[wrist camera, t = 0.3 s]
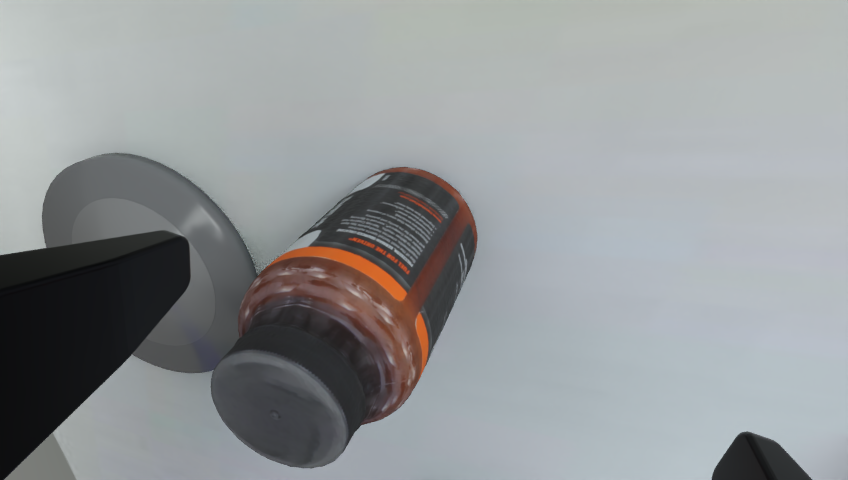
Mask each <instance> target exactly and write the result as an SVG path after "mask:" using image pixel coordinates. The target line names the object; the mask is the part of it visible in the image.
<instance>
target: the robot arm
mask: <svg viewBox="0 0 848 480" xmlns="http://www.w3.org/2000/svg"><path fill="white" fill-rule="evenodd" d="M190 279H191V269H190V246H189V242H188V240H187V239H186V238H185V237H184V236H182V235H179V234H176V233H173V232H170V231H167V230H159V231H152V232H146V233H140V234H133V235H127V236H120V237H114V238H108V239H101V240H95V241H88V242H82V243H75V244H69V245H63V246H56V247H50V248H43V249H37V250H31V251H24V252H18V253H11V254H5V255H0V480H4V479H5V478H6V477H7V476H8V475H9V474H10V473H11V472H12V471H13V470H14V469H15V468H16V467H17V466H18V465H19V464H20V463H21V462H22V461H24V459H26V458H27V457H28V456H29V455H30V454H31V453H32V452H33V451H34V450H35V449H36V448H37V447H38V446H39V445H40V444H41V443H42V442H43V441H44V440H45V439H46V438H47V437H48V436H49V435H50V434H51V433H52V432H53V431H54V430H55V429H56V428H57V427H58V426H60V425H61V424H62V423H63V422H64V421H65V420H66V419H67V418H68V417H69V416H70V415H71V414H72V413H73V412H74V411H75V410H76V409H77V408H78V407H79V406H80V405H81V404H82V403H83V402H84V401H85V400H86V399H87V398H88V397H89V396H90V395H91V394H92V393H93V392H94V391H95V390H97V389H98V388H99V387H100V386H101V385H102V384H103V383H104V382H105V381H106V380H107V379H108V378H109V377H110V376H111V375H112V374H113V373H114V372H115V371H116V370H117V369H118V368H119V367H120V366H121V365H122V364H123V363H124V362H125V361H126V360H127V359H128V358H129V357H130V356H131V355H132V353H133V352H134V351H135V350H136V349H137V348H138V347H139V346H140V344H141V343H142V342H143V341H144V340H145V339H146V337H147V336H148V335H149V334H150V333H151V331H152V330H153V329H154V328H155V327H156V326H157V324H158V323H159V322H160V321H161V320H162V318H163V317H164V316H165V315H166V314H167V313H168V311H169V310H170V309H171V308H172V307H173V305H174V304H175V303H176V302H177V301H178V299H179V298H180V297H181V296H182V295H183V294H184V292H185V291H186V289H187V288H188V286H189V283H190ZM712 480H812V479H811V478H810V477H809V476H808V475H807V474H806V472H805V471H804V470H803V469H802V468H801V467H800V466H799V465H798V464H797V463H796V462H795V461H794V460H793V459H792V458H791V456H790V455H789V454H788V453H787V452H786V451H785V450H784V449H783V448H782V447H781V446H780V445H779V444H778V443H777V442H775V441H774V440H771V439H768V438H765V437H763V436H760V435H757V434H754V433H751V432H742V433H740V434H739V435H738V436H737V437H736V438H735V440H734V441H733V443H732V444H731V445H730V447H729V448H728V450H727V451H726V453H725V454H724V456H723V457H722V459H721V460H720V462H719V463H718V464H717V466H716V468H715V470H714V472H713V475H712Z"/></svg>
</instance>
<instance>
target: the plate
mask: <svg viewBox="0 0 848 480" xmlns="http://www.w3.org/2000/svg"><path fill="white" fill-rule="evenodd" d="M42 224H43V233H44V239H45V243H46V247H47V248H50V247H56V246H63V245H69V244H75V243H82V242H88V241H95V240H101V239H108V238H114V237H120V236H127V235H133V234H140V233H146V232H152V231H159V230H167V231H170V232H173V233H176V234H179V235H182V236H184V237H185V238H186V239H187V240H188V242H189V246H190V269H191V279H190V283H189V286H188V288H187V289H186V291H185V292H184V294H183V295H182V296H181V297H180V298H179V299H178V301H177V302H176V303H175V304H174V305H173V307H172V308H171V309H170V310H169V311H168V313H167V314H166V315H165V316H164V317H163V318H162V320H161V321H160V322H159V323H158V324H157V326H156V327H155V328H154V329H153V330H152V331H151V333H150V334H149V335H148V336H147V337H146V339H145V340H144V341H143V342H142V343H141V344H140V346H139V347H138V348H137V349H136V350H135V351H134V352H133V353H132V354H133V355H134V356H136V357H138V358H140V359H142V360H144V361H146V362H148V363H151V364H153V365H155V366H158V367H161V368H164V369H168V370H172V371H177V372H185V373H202V372H207V371H212V370H214V369H215V368H216V366H217V364H218V363H219V362H220V360H221V359H222V358H223V357H224V356H225V355H226V354H227V353H228V352H229V351H230V350H231V349H232V348H233V346H234V345H235V343H236V342H237V340H238V339H239V332H238V315H239V310H240V305H241V303H242V300H243V298H244V295H245V293H246V292H247V290H248V289H249V287H250V285H251V284H252V282H253V281H254V280H255V279H256V278H257V273H256V270H255V267H254V264H253V261H252V259H251V257H250V254H249V252H248V250H247V248H246V246H245V244H244V242H243V240H242V239H241V237H240V235H239V233H238V232H237V230H236V229H235V227H234V226H233V225H232V223H231V222H230V220H229V219H228V218H227V216H226V215H225V214H224V213H223V212H222V211H221V209H220V208H219V207H218V206H217V205H216V204H215V203H214V202H213V201H212V200H211V199H210V198H209V197H208V196H207V195H206V194H205V193H204V192H203V191H202V190H201V189H199V188H198V187H197V186H196V185H194V184H193V183H192V182H191V181H189V180H188V179H186V178H185V177H183V176H182V175H180V174H179V173H177V172H176V171H174V170H172V169H170V168H168V167H166V166H164V165H162V164H160V163H158V162H155V161H153V160H150V159H147V158H145V157H141V156H136V155H132V154H123V153H109V154H102V155H98V156H94V157H91V158H88V159H86V160H83V161H80V162H78V163H75V164H73V165H71V166H69V167H67V168H65V169H64V170H63V171H62V172H61V173H59V174H58V175H57V176H56V178H55V179H54V180H53V182H52V183H51V184H50V186H49V189H48V191H47V193H46V196H45V200H44V203H43V212H42Z"/></svg>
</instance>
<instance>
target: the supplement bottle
mask: <svg viewBox="0 0 848 480" xmlns="http://www.w3.org/2000/svg"><path fill="white" fill-rule="evenodd" d="M476 248H477V230H476V225H475V221H474V218H473V216H472V213H471V211H470V209H469V207H468V205H467V204H466V202H465V201H464V199H463V198H462V197H461V195H460V194H459V192H458V191H457V190H456V189H454V188H453V187H452V186H451V185H450V184H448V183H447V182H446V181H444V180H443V179H441V178H439V177H437V176H435V175H433V174H431V173H429V172H426V171H424V170H420V169H415V168H408V167H399V168H391V169H388V170H383V171H381V172H378V173H376V174H374V175H372V176H370V177H369V178H368V179H366V180H365V181H363V182H362V183H361V184H359V185H358V186H357V187H356V188H355V189H354V190H352V191H351V192H350V193H349V194H348V195H347V196H346V197H345V198H343V199H342V200H341V201H340V202H338V203H337V205H336V206H335V207H334V208H333V209H331V210H330V211H329V212H328V213H327V214H326V215H324V216H323V217H322V218H321V219H320V220H319V221H318V222H316V224H315V225H313V226H312V227H311V228H310V229H309V230H308V231H307V232H305V233H304V234H303V235H302V236H300V237H299V238H298V240H297V241H295V242H294V243H293V244H292V245H291V246H290V247H289V248H288V249H286V250H285V251H284V252H283V253H282V254H281V255H280V256H278V257H277V258H276V259H275V260H274V261H273V262H272V263H271V264H270V265H269V266H267V267H266V268H265V269H264V270H263V271H262V272H261V273H260V274H259V275H258V276H257V278H256V279H255V280H254V281H253V282H252V284H251V285H250V287H249V289H248V290H247V292H246V293H245V295H244V298H243V300H242V303H241V305H240V310H239V315H238V332H239V339H238V340H237V342H236V343H235V345H234V346H233V348H232V349H231V350H230V351H229V352H228V353H227V354H226V355H225V356H224V357H223V358H222V359H221V360H220V362H219V363H218V364H217V366H216V368H215V369H214V372H213V374H212V379H211V394H212V398H213V401H214V404H215V406H216V409H217V411H218V413H219V415H220V416H221V418H222V420H223V421H224V423H225V424H226V425H227V427H228V428H229V429H230V430H231V431H232V432H233V433H234V434H235V435H236V436H237V437H238V439H239V440H241V441H242V442H243V443H244V444H246V445H247V446H248V447H250V448H251V449H252V450H254V451H255V452H257V453H258V454H260V455H262V456H264V457H266V458H268V459H270V460H273V461H276V462H278V463H281V464H285V465H288V466H290V467H299V468H315V467H321V466H325V465H327V464H329V463H331V462H333V461H335V460H336V459H337V458H338V457H339V456H340V455H341V454H342V453H343V451H344V450H345V448H346V446H347V445H348V443H349V441H350V439H351V437H352V436H353V434H354V432H355V431H356V430H357V429H358V428H359V427H360V426H361V425H364V424H367V423H371V422H375V421H378V420H381V419H383V418H384V417H387V416H388V415H390V414H392V413H393V412H394V411H396V410H397V409H398V408H400V407H401V406H402V404H404V402H405V401H406V400H407V399H408V397H409V396H410V394H411V392H412V391H413V389H414V388H415V386H416V384H417V382H418V381H419V379H420V376H421V374H422V372H423V370H424V368H425V366H426V364H427V362H428V360H429V357H430V355H431V353H432V351H433V349H434V346H435V344H436V342H437V340H438V338H439V335H440V333H441V331H442V329H443V327H444V325H445V323H446V321H447V318H448V316H449V314H450V312H451V310H452V307H453V305H454V303H455V301H456V298H457V296H458V294H459V292H460V290H461V287H462V285H463V283H464V281H465V279H466V276H467V274H468V272H469V270H470V267H471V265H472V261H473V259H474V255H475V252H476Z"/></svg>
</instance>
